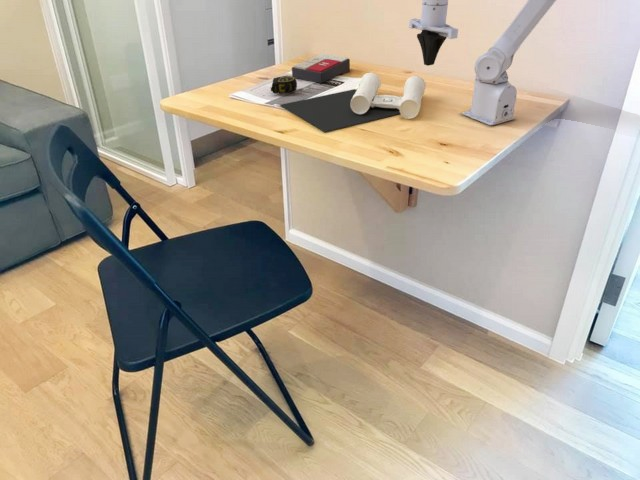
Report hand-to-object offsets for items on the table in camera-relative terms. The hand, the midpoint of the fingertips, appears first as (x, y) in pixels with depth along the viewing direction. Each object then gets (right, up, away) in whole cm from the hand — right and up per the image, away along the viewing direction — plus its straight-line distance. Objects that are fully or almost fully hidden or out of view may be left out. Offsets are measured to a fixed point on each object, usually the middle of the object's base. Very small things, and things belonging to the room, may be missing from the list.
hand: (428, 64), depth 127 cm
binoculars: (-11, -11, -3) cm, 16 cm away
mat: (-21, -10, +5) cm, 24 cm away
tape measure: (-37, -2, +17) cm, 41 cm away
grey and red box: (-26, +7, +32) cm, 41 cm away
